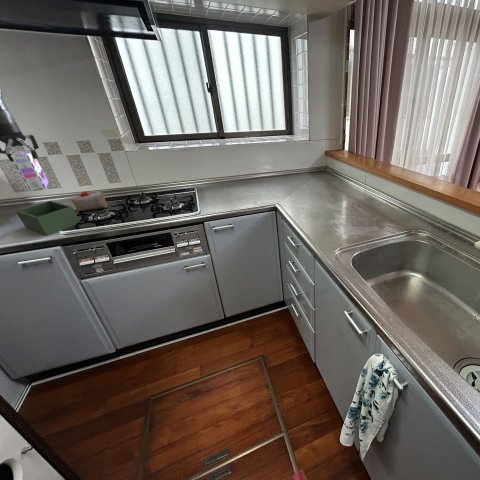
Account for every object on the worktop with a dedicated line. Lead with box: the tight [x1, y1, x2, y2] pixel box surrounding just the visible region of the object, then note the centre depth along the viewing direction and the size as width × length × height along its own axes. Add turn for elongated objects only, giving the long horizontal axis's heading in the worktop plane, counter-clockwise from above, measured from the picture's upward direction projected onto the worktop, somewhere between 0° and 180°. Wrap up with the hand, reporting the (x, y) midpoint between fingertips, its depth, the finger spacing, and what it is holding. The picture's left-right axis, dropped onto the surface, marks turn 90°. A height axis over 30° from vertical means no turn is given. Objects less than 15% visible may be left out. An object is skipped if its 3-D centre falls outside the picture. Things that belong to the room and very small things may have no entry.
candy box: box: [10, 149, 50, 192], centre depth 127 cm, size 14×6×16 cm, turn 37°
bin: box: [14, 200, 81, 237], centre depth 128 cm, size 20×14×9 cm
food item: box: [70, 190, 108, 213], centre depth 145 cm, size 14×8×10 cm, turn 115°
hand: (25, 160), depth 124 cm, fingers closed on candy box, 7 cm apart
